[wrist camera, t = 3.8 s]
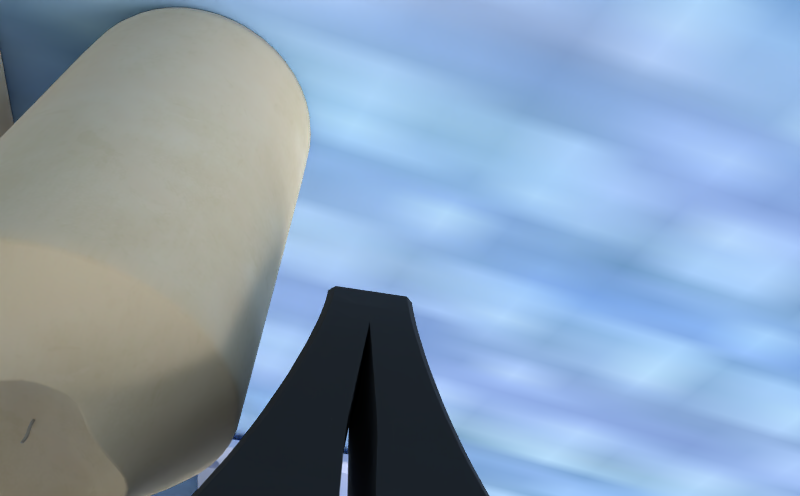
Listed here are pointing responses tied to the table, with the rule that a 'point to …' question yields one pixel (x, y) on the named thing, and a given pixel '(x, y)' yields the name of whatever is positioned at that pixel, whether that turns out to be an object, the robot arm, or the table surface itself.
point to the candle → (142, 253)
